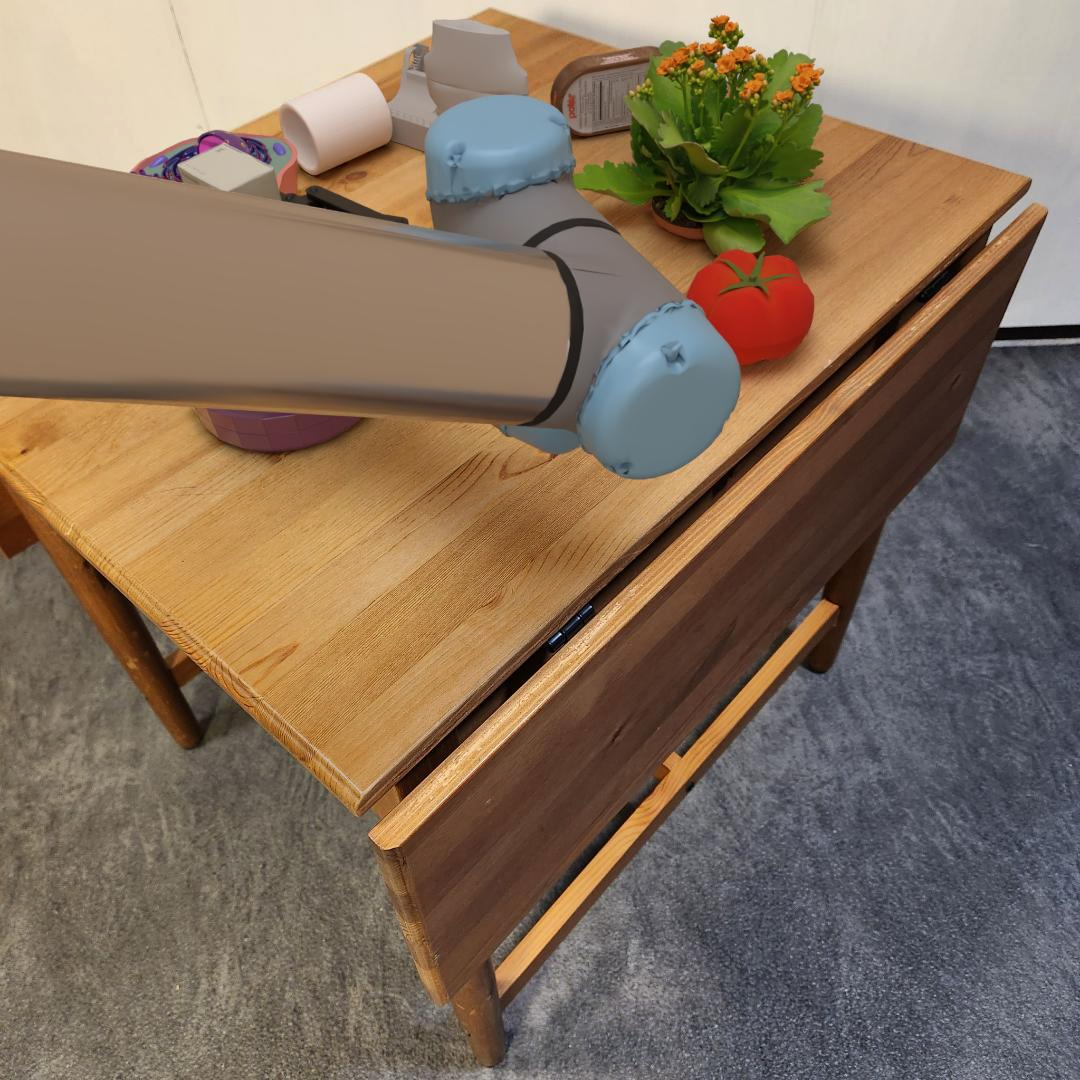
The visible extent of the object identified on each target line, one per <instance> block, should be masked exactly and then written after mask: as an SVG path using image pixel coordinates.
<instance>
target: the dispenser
mask: <svg viewBox="0 0 1080 1080" xmlns="http://www.w3.org/2000/svg"><path fill="white" fill-rule="evenodd" d="M431 32H432V33H431V42H430V43H431V45H430V46H431V47H430V49H429V52H428V53H427V54H426V55H425V56H424V65H425V72H426V79H427V85H428V90H429V94H430V97H431V98H432V100H433V101H434V103H435V104H436V106H437V108H436V109H435V110H436V115H437V116H439V115H441V114H442V113H443V112H445V111H446V110H448V109H450V108H451V107H453V106H455V105H457V104H460V103H462V102H466V101H469V100H473V99H477V98H481V97H484V96H491V95H521V96H528V97H530V90H529V75H528V72H527V71H526V69H524V68H523V66H522V65H520V64H519V61H518V59H517V55H516V52H515V48H514V44H513V42H512V37H511V32H510V31H508V30H507V29H504V28H501V27H497V26H493V25H489V24H486V23H484V22H480V21H478V20H475V19H471V18H470V19H469V18H460V19H434V20H432V29H431Z"/></svg>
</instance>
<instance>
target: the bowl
mask: <svg viewBox="0 0 1080 1080" xmlns="http://www.w3.org/2000/svg"><path fill="white" fill-rule="evenodd" d="M195 409H196V412H197V414H198V416H199V420H200V421H201V424H202V426H203V427H204V428H205V429H206V430H208V431H209V432H210V433H212V434H213V436H215V437H216V438H217V439H218V440H220V441H222V442H225V443H227V444H230V445H233V446H234V447H238V448H240V449H244V450H249V451H252V452H253V451H255V452H261V453H262V452H263V453H280V452H291V451H297V450H302V449H307V448H309V447H313V446H316V445H319V444H321V443H325V442H326V441H329V440H331V439H333V438H336V437H338V436H339V435H341V434H343V433H344V432H346V431H347V430H349V429H350V428H351V427H353V426H354V425H356V424H357V423H358V422H359V421H360V420H361V419H362V418H363V417H353V416H336V415H318V414H301V413H283V412H266V411H248V410H231V409H214V408H196V407H195Z"/></svg>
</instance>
